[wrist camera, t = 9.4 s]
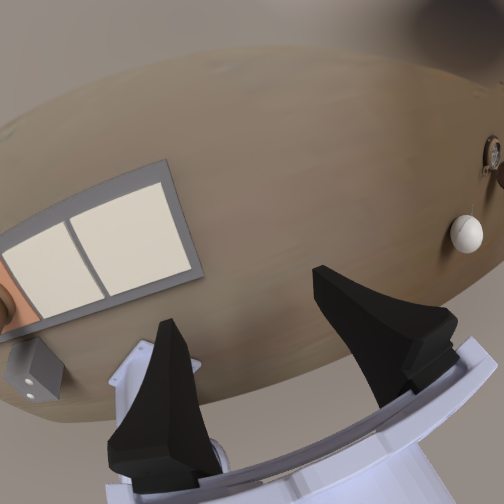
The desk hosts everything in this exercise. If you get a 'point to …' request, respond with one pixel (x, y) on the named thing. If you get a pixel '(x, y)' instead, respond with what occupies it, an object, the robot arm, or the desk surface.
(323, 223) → the desk surface
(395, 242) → the desk surface
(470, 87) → the desk surface
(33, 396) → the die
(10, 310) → the pawn
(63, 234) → the board
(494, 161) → the compass
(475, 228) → the seamed sphere
